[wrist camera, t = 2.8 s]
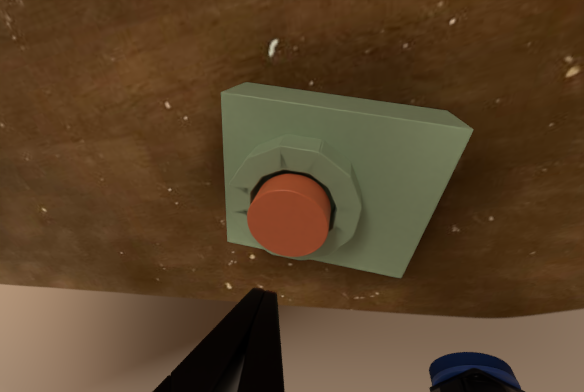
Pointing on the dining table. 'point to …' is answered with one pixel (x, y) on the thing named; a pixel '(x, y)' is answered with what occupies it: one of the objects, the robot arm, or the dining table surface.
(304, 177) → the lid button
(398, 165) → the push button box
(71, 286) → the dining table surface
